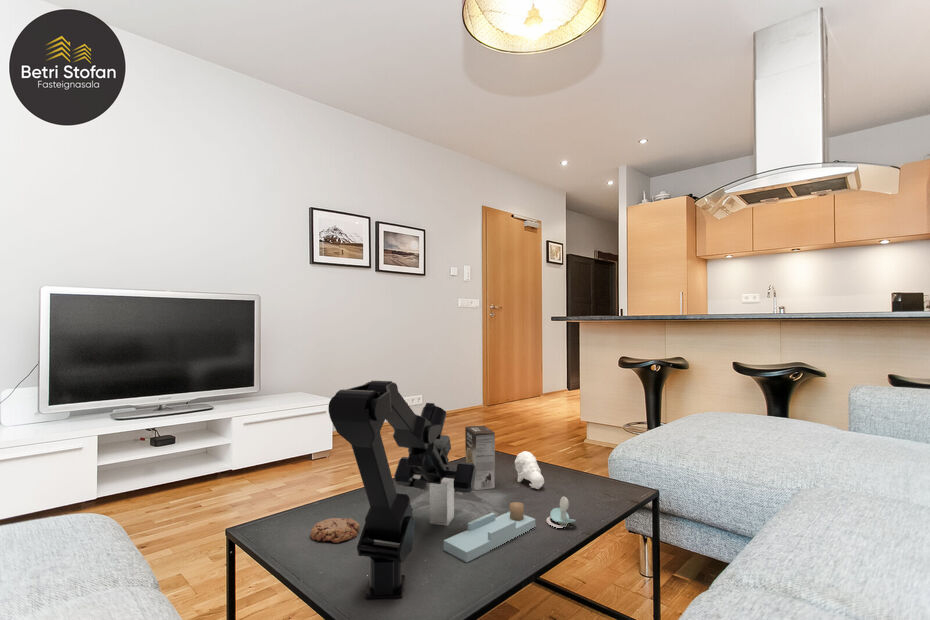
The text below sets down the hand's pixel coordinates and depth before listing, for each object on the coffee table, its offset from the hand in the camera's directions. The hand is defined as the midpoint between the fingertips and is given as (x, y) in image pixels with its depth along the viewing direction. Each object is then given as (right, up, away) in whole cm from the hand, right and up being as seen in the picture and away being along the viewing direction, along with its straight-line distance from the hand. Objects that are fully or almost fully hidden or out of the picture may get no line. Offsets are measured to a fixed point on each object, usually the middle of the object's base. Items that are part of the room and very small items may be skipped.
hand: (443, 490), depth 113 cm
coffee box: (+10, -7, +23) cm, 26 cm away
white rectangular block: (0, -7, -1) cm, 7 cm away
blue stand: (+11, -6, -11) cm, 17 cm away
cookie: (-24, -7, -9) cm, 26 cm away
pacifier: (+27, -7, -4) cm, 29 cm away
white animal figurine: (+25, -7, +23) cm, 34 cm away
